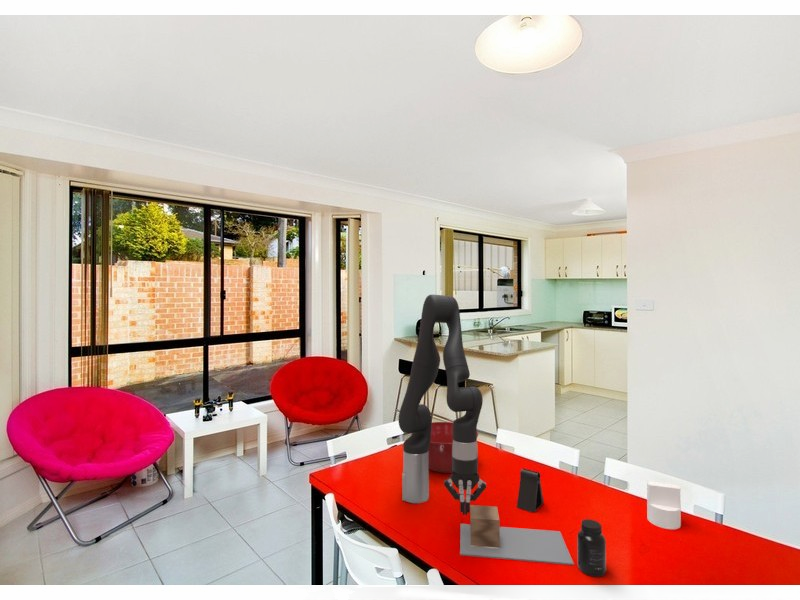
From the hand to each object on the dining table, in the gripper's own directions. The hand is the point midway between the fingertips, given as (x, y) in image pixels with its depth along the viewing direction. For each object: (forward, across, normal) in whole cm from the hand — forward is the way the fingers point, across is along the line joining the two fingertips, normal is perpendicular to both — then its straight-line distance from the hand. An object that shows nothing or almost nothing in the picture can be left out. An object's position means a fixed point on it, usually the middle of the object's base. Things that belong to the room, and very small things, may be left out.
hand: (465, 513), depth 124 cm
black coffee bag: (+8, +22, +24) cm, 34 cm away
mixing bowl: (+8, -8, +54) cm, 55 cm away
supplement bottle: (+8, +33, -9) cm, 35 cm away
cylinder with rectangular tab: (+8, +63, +19) cm, 66 cm away
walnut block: (+7, +6, 0) cm, 9 cm away
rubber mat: (+8, +14, 0) cm, 16 cm away
